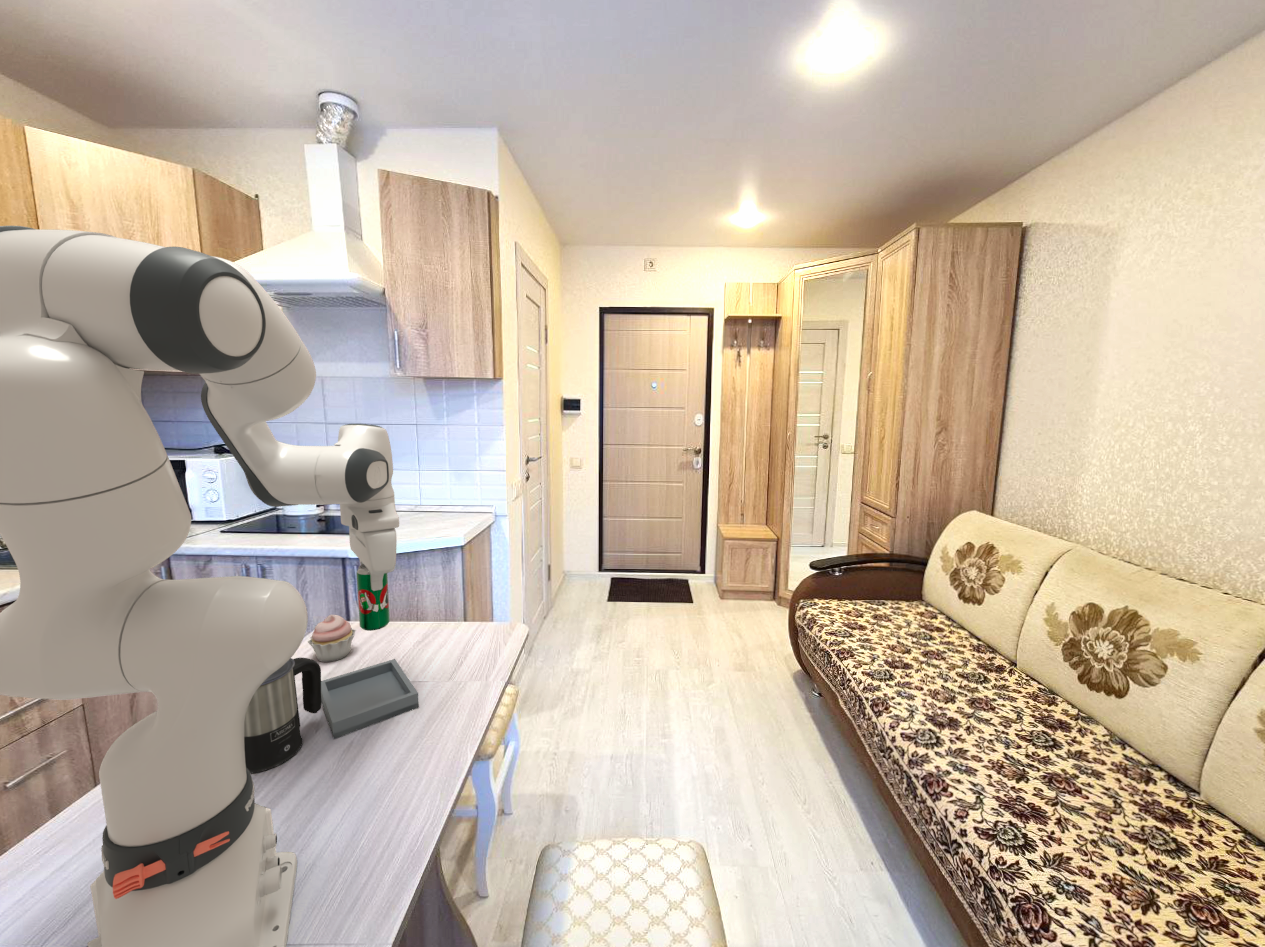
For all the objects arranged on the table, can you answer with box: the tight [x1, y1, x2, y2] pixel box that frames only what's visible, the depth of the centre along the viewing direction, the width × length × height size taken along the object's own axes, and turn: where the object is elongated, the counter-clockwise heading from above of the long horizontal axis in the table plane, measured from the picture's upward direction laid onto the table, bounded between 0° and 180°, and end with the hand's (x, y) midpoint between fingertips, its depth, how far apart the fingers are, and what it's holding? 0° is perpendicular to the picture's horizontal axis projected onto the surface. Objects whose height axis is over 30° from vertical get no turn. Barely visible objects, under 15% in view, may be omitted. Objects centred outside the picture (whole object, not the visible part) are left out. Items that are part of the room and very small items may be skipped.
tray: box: [321, 658, 420, 740], centre depth 93 cm, size 16×14×3 cm
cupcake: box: [307, 614, 357, 663], centre depth 109 cm, size 9×9×10 cm
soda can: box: [356, 564, 391, 632], centre depth 90 cm, size 5×5×12 cm
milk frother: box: [244, 657, 322, 774], centre depth 80 cm, size 14×16×15 cm
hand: (372, 584), depth 90 cm, fingers closed on soda can, 5 cm apart
